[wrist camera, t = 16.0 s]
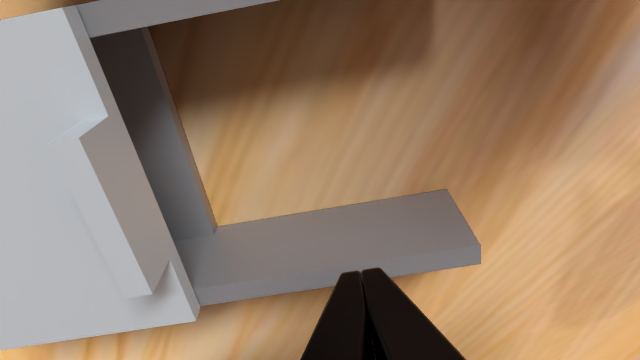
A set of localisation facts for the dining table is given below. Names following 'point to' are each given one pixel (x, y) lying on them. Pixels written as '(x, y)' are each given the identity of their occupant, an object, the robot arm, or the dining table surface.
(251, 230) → the housing
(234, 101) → the dining table surface
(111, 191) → the lid
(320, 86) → the dining table surface
